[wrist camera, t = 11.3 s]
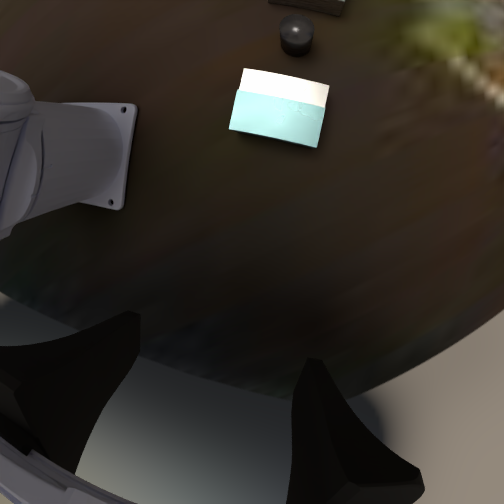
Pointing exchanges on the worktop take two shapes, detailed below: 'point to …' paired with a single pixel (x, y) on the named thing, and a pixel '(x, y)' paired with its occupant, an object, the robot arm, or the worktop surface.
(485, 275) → the worktop surface
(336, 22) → the worktop surface
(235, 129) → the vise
